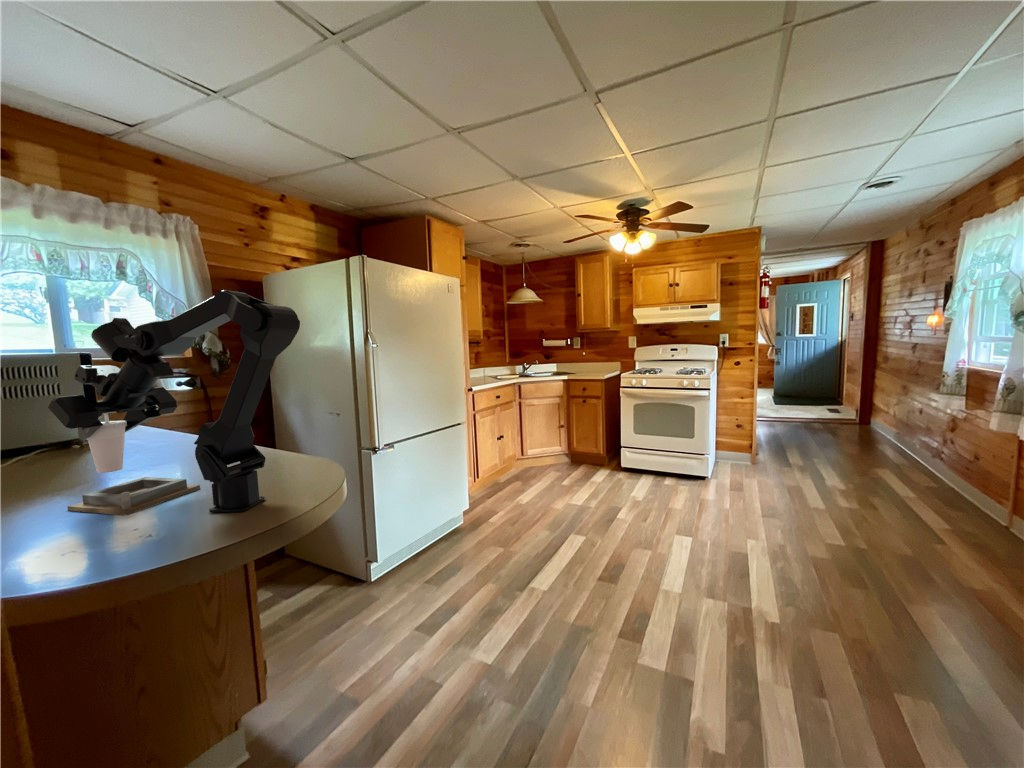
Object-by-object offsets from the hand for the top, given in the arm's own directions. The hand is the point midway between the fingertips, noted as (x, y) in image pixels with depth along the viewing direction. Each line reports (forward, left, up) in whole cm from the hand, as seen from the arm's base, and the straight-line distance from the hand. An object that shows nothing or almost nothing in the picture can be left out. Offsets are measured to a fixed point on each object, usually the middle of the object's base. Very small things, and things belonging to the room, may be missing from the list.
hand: (101, 435), depth 83 cm
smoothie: (-1, +1, -7) cm, 8 cm away
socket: (-8, +2, -13) cm, 15 cm away
